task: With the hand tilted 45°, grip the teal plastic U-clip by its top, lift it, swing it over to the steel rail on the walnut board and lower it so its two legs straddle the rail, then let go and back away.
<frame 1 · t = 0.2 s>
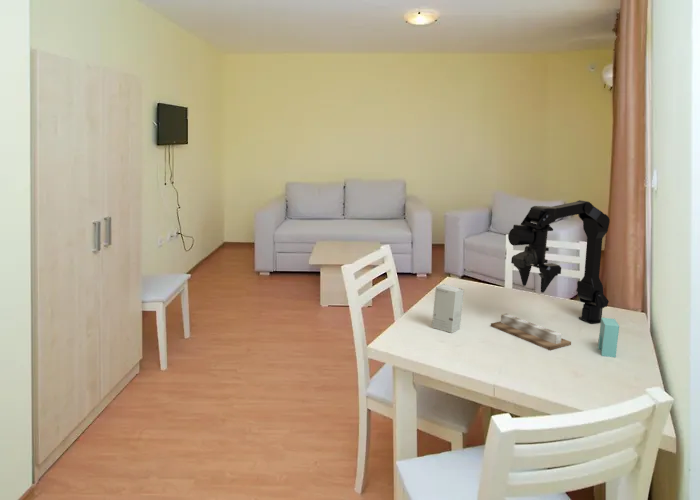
hand: (533, 288, 202), 15 cm above the table, tool pointing down, fingers open, 9 cm apart
rail board: (529, 335, 200), on the table
skincare box: (446, 329, 205), on the table
clip: (606, 352, 185), on the table
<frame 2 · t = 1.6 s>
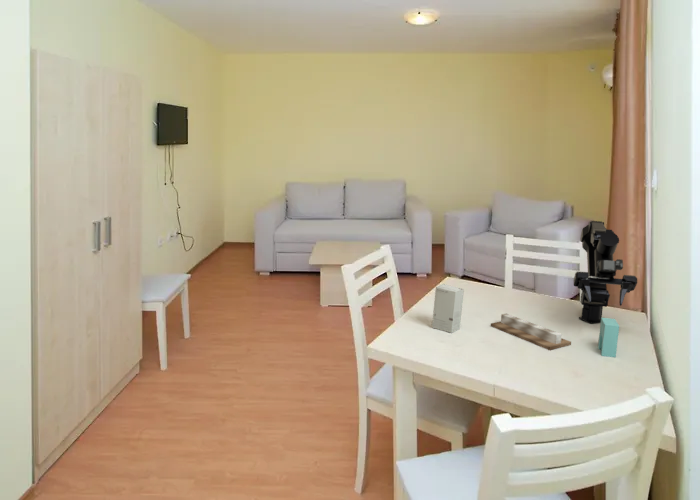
hand: (605, 303, 190), 13 cm above the table, tool tilted 45°, fingers open, 9 cm apart
nothing on the table moved.
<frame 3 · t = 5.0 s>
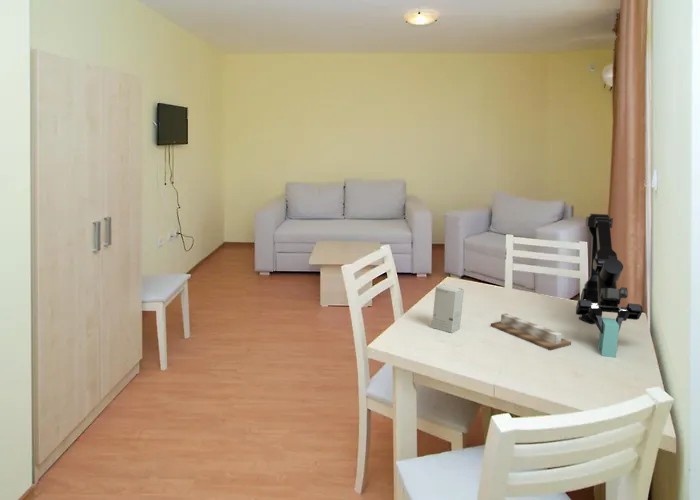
hand: (609, 333, 183), 7 cm above the table, tool tilted 45°, fingers closed on clip, 4 cm apart
clip: (606, 352, 185), on the table, touching gripper
everything else where it was.
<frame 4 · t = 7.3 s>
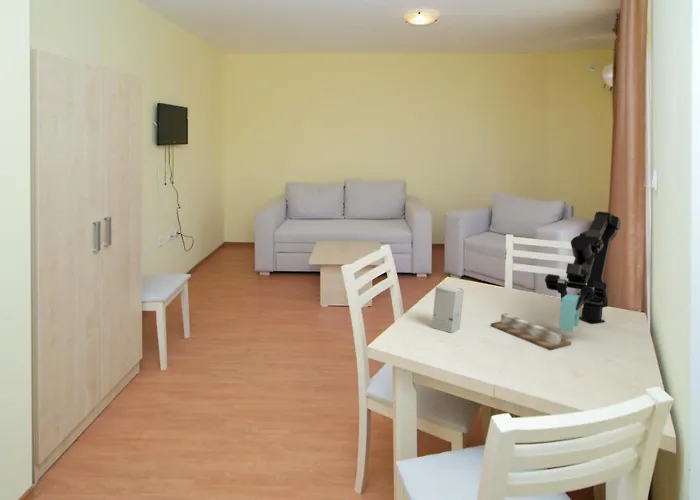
hand: (569, 308, 186), 13 cm above the table, tool tilted 45°, fingers closed on clip, 4 cm apart
clip: (568, 327, 189), point 6 cm above the table, touching gripper
everything else where it was.
when the fingers open (9 cm above the table, at t = 9.8 s): clip drops 1 cm, resting on rail board.
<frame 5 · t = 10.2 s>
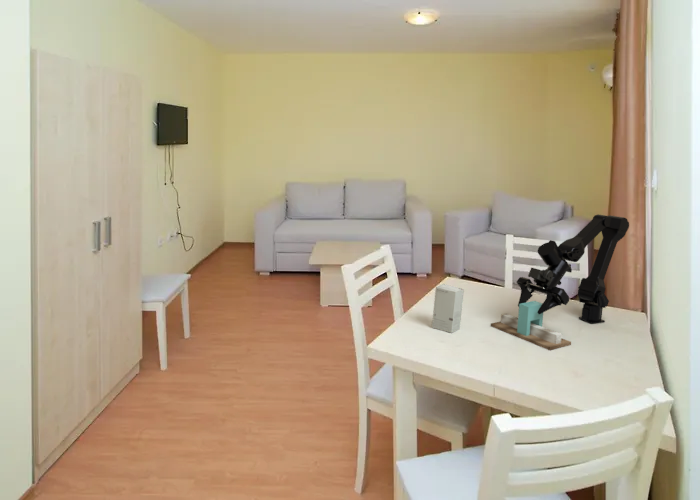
hand: (528, 309, 197), 9 cm above the table, tool tilted 45°, fingers open, 8 cm apart
clip: (529, 332, 199), point 1 cm above the table, touching rail board
everything else where it was.
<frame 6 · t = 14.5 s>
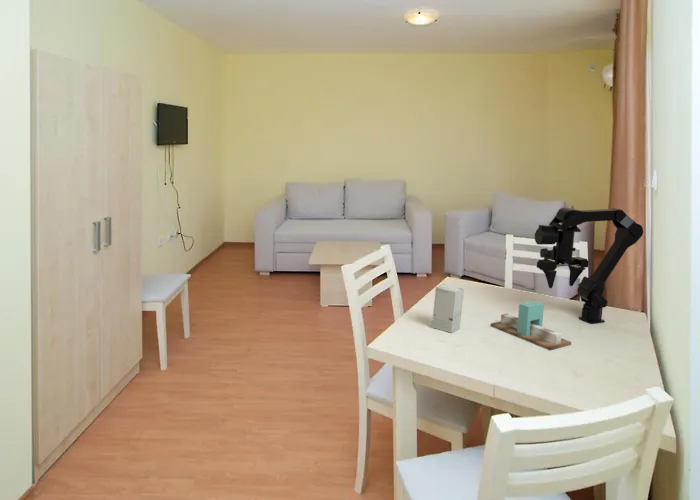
hand: (560, 287, 211), 13 cm above the table, tool pointing down, fingers open, 9 cm apart
nothing on the table moved.
at the end: clip inside the target area on the rail board (0.0 cm from its centre), point 1.0 cm above the rail board's base; clip tilted 0°; the gripper is holding nothing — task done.
